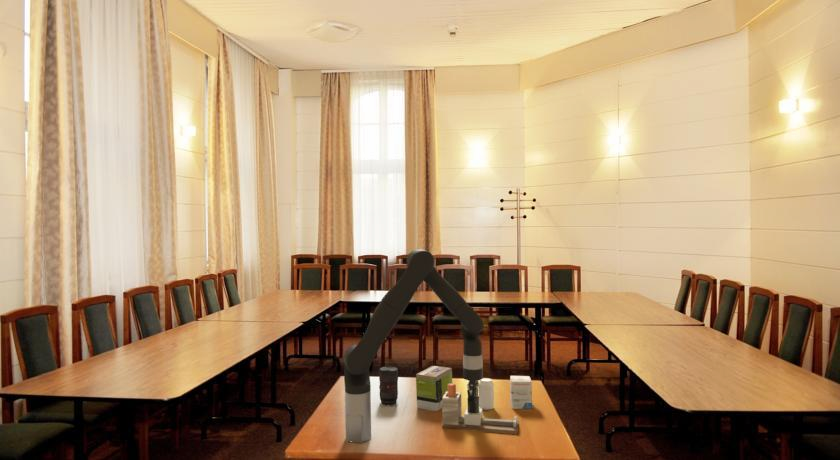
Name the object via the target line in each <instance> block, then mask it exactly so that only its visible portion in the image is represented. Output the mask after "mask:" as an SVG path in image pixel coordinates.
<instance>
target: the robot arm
mask: <svg viewBox="0 0 840 460" xmlns="http://www.w3.org/2000/svg"><path fill="white" fill-rule="evenodd" d="M406 265H407V267H406V269H405V270H404V273H403V274H402V275H401V277H400V278H399V280H398V281H397V282H396V283H395V284H394V285H393V286H392V287H391V288H390V289H389V290H388V291H386V293H385V295H384V296H383V297H382V299H381V300H380V301H379V303H378V305H377V306H376V308H375V309H374V311H373V314H371V315H372V316H371V318H370V320H369V323H368V325H367V328H366V330H365V332H364V334H363V336H362V337H361V339H360V340H359V341H358V343H357V344H354V345H353V344H352V345H351V346H349V347H347V349H346V350H345V352H344V355H343V375H344V376H343V379H344V382H343V383H344V412H345V414H344V415H345V416H344V417H345V419H344V420H345V423H344V424H345V441H352V442H351V443H353V442H359V443H358V444H364V441H365V442H367V441H369V440H371V439H372V408H371V407H372V405H371V404H372V403H371V401H372V399H371V397H372V396H371V393H372V392H371V378H370V367H371V365H372V363H373V361H374V360H375V357H376V355H377V353H378V351H379V349H380V348H381V346H382V344H383V343H384V342H385V340H386V338H387V337H388V336H389V335H390V333H391V332H392V330H393V329H394V327H395V326H396V325H397V323H398V321H399V320H400V318H402V315H403V314H404V312H405V311H406V308H407V307H408V305H409V304H410V303H411V301H412V299H413V297H414V295H415V293H416V291H417V290H418V288H419V287H420V286H421V284H422V283H423V282H425V284H426V285H427V286H428V287H429V288H430V289H431V290H432V292H434V294H435V295H436V296H437V298H439V300H440V301H441V302H442V304H443V305H444V306H445V308H447V309H448V311H449V312H450V313H451V314H452V315H453V316H454V317H456V318H457V319H458V320H459V322H460V329H461V336H462V341H463V347H462V348H463V356H462V358H463V359H462V378H463V379H464V380H466V381H468V383H467V384H466V385H467V386H466V387H467V390H466V393H467V404H468V403H470V413H475V412H476V397H477V396H479V382H480V380H481V379H482V378H484V373H483V372H484V371H483V370H484V369H483V368H484V367H483V366H484V364H483V361H484V360H483V350H482V349H483V346H482V345H483V343H482V341H481V338H480V336H479V333H481V332H482V331H483V330H484V325H485V323H484V320H483V318H482V317H481V316H480V315H479V314H478V313H477V312H476V310H475V309H473V308H472V307H471V306H470V305H469V303H467V301H466V300H465V298H463V296H462V295H461V294H460V292H458V291H457V290H456V288H455V287H453V285H451V283H450V282H448V281H447V280H446V279H445V278H444V277H443V276H442V275H441V274H440V272H439V271H438V270H437V268H436V267H435V257H434V256H433V254H432V252H430V251H428V250H425V249H420V248H419V249H418V248H417V249H414V250H411V251H410V252H409V253H408V254H407V257H406ZM471 399H473V400H471Z"/></svg>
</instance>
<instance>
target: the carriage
mask: <svg viewBox="0 0 840 460" xmlns="http://www.w3.org/2000/svg"><path fill="white" fill-rule="evenodd" d="M471 400H473V399H471ZM463 417H464V424H465V425H478V426H480V425H481V418H483V409H481V408H480V407H479V395H478V396H477V397H476V412H475V413H470V403H468V402H467V407H466V409H465V411H464V414H463Z"/></svg>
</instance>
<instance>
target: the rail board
mask: <svg viewBox="0 0 840 460" xmlns="http://www.w3.org/2000/svg"><path fill="white" fill-rule="evenodd" d="M441 410H442V411H441V412H442V425H441V428H442V429H447V430H460V431H471V432H484V433H485V432H486V433H495V434H496V433H497V434H500V433H501V434H509V435H518V431H519V423H520V422H519V420H518V416H515V415H514V417H513V420H511V419H498V418H487V417H486V418H484V417H482V418H481V425H480V426H478V425H465V424H464V416H463V415H462V392H461V391H456V397H448V391H446V392H445V394H444V396H443V397H442V408H441Z"/></svg>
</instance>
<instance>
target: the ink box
mask: <svg viewBox="0 0 840 460" xmlns="http://www.w3.org/2000/svg"><path fill="white" fill-rule="evenodd" d="M509 379H510V380H509V382H510V383H509V384H510V387H509V388H510V389H509V390H510V391H509V392H510V394H509V395H510V396H509V397H510V405H511V409H512V410H513V409H514V410H533V386H532V382H533V381H532V379H531V377H530V376H529V375H510V377H509Z"/></svg>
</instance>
